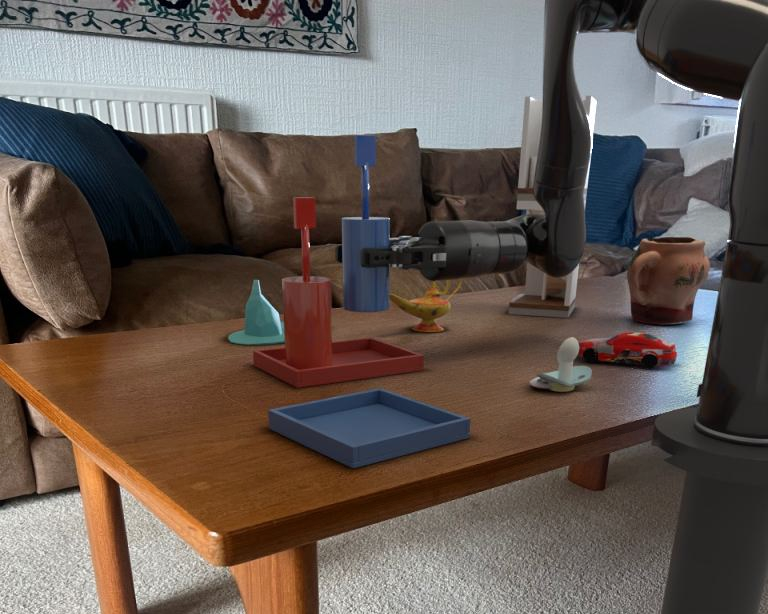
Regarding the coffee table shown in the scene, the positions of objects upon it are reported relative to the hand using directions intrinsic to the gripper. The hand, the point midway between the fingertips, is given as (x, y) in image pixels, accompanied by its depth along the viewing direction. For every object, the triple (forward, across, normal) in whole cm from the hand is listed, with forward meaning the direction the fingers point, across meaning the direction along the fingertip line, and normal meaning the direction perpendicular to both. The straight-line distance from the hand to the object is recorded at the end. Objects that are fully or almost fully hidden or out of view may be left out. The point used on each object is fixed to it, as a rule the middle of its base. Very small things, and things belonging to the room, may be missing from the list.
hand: (349, 256), depth 97 cm
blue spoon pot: (-2, 0, +7) cm, 7 cm away
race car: (-34, +16, +14) cm, 40 cm away
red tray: (+2, 0, +14) cm, 14 cm away
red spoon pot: (+6, 0, +13) cm, 15 cm away
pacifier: (-17, +22, +14) cm, 31 cm away
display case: (-53, -22, +14) cm, 59 cm away
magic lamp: (-22, -16, +14) cm, 31 cm away
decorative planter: (-63, -3, +14) cm, 64 cm away
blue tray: (+12, +26, +14) cm, 32 cm away
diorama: (-1, -25, +14) cm, 29 cm away
